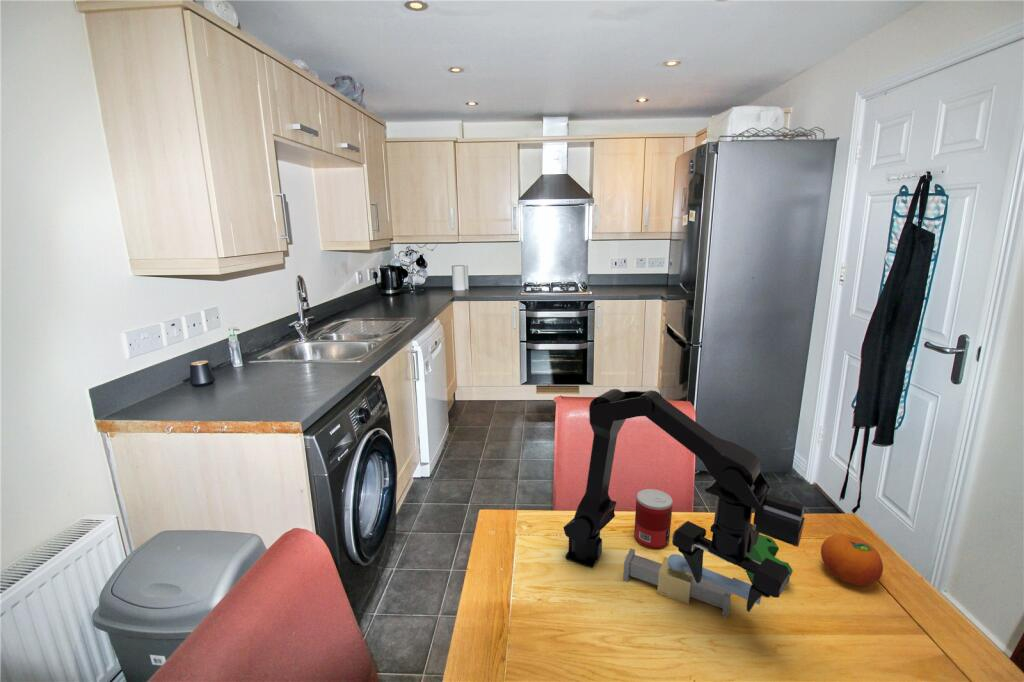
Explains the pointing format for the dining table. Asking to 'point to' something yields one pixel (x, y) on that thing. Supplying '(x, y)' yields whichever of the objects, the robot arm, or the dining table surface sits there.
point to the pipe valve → (675, 582)
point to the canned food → (653, 518)
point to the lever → (712, 577)
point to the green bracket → (765, 553)
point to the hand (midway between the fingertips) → (722, 595)
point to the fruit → (851, 559)
